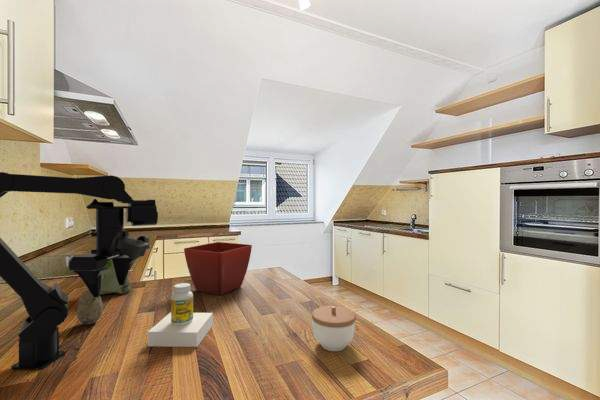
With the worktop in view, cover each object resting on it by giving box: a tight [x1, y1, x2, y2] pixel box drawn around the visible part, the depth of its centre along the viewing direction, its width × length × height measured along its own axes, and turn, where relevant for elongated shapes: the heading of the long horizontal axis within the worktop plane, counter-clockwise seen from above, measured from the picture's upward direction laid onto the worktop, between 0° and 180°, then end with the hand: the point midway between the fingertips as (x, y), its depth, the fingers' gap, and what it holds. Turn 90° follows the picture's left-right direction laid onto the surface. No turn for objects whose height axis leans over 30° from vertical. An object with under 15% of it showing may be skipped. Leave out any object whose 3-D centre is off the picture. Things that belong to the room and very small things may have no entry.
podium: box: [147, 311, 214, 348], centre depth 76 cm, size 12×12×4 cm
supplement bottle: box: [170, 282, 194, 325], centre depth 76 cm, size 5×5×10 cm
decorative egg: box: [76, 288, 104, 325], centre depth 82 cm, size 6×6×10 cm
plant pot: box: [183, 241, 253, 296], centre depth 115 cm, size 19×19×17 cm
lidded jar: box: [311, 305, 357, 352], centre depth 71 cm, size 11×11×9 cm
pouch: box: [100, 259, 132, 295], centre depth 109 cm, size 11×12×25 cm
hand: (109, 290), depth 71 cm, fingers open, 9 cm apart
